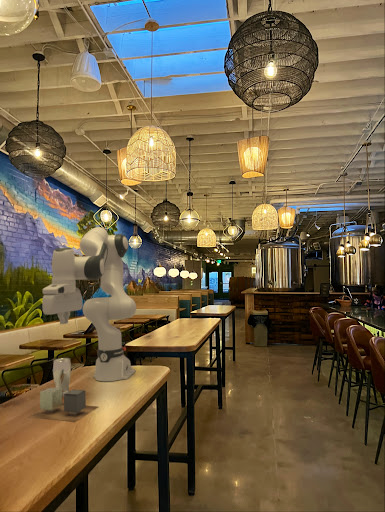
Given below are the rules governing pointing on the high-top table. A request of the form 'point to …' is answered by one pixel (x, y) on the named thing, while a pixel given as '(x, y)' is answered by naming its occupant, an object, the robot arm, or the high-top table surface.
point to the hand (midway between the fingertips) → (64, 323)
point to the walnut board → (63, 414)
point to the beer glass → (62, 374)
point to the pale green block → (51, 399)
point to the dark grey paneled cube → (74, 400)
